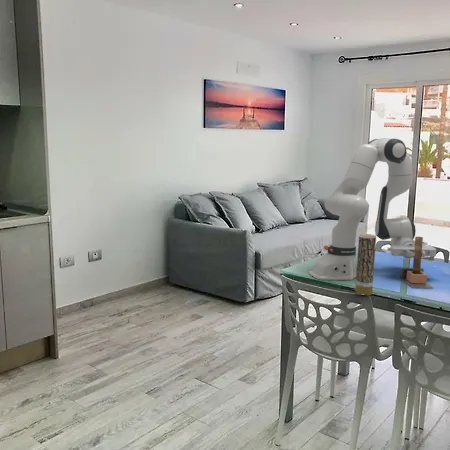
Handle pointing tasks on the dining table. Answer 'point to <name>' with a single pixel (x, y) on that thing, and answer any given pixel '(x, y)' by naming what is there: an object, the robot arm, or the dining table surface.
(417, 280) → the collar
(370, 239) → the bark textured cylinder
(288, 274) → the dining table surface
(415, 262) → the dowel
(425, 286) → the rail
